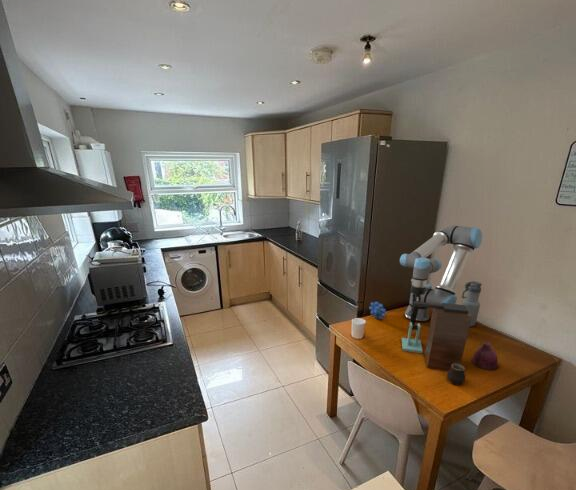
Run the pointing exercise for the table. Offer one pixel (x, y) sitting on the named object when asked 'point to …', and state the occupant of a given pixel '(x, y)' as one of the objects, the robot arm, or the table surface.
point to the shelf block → (446, 339)
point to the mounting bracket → (412, 341)
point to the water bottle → (472, 299)
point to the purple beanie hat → (485, 357)
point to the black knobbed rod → (414, 327)
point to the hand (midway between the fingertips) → (412, 324)
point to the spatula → (444, 307)
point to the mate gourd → (456, 374)
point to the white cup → (358, 328)
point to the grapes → (377, 310)
